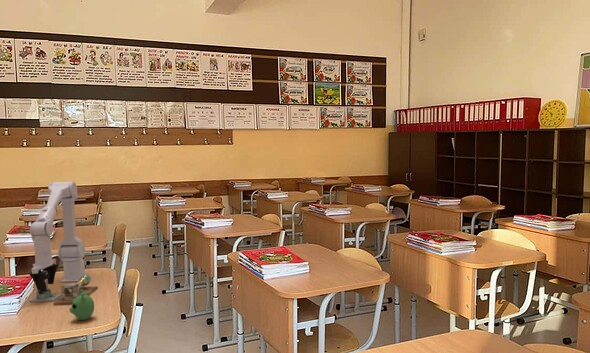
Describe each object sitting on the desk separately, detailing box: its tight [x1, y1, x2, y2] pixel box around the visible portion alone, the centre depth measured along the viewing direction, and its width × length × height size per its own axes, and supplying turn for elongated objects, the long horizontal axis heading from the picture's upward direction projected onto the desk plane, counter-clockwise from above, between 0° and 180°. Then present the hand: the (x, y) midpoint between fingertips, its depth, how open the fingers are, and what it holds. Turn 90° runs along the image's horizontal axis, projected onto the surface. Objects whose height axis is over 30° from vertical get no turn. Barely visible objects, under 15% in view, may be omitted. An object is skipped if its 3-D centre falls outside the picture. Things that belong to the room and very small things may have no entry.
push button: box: [35, 270, 56, 299], centre depth 187 cm, size 7×5×10 cm
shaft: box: [67, 274, 92, 294], centre depth 191 cm, size 15×4×4 cm, turn 1°
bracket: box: [52, 283, 99, 306], centre depth 189 cm, size 19×9×6 cm, turn 1°
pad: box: [29, 293, 62, 303], centre depth 188 cm, size 7×9×1 cm
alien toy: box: [69, 290, 95, 321], centre depth 164 cm, size 7×8×10 cm
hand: (45, 286), depth 187 cm, fingers open, 7 cm apart
